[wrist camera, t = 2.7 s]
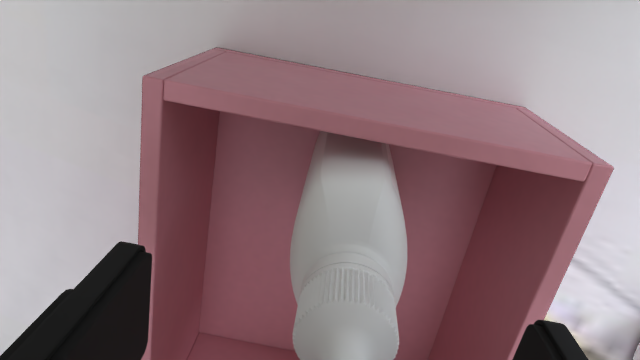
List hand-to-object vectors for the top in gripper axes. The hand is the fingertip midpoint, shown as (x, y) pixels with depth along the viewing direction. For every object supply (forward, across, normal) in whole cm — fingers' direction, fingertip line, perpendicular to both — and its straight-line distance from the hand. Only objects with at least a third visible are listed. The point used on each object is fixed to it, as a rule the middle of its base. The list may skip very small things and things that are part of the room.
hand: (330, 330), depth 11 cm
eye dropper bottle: (+10, 0, -1) cm, 10 cm away
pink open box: (+10, 0, +3) cm, 11 cm away
